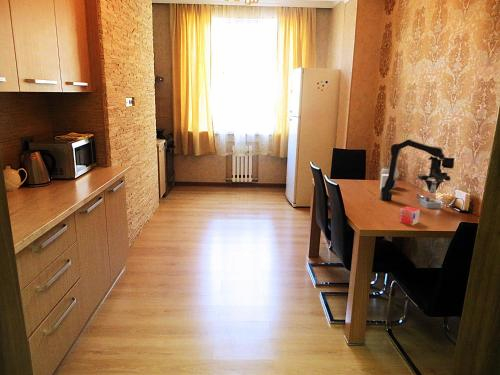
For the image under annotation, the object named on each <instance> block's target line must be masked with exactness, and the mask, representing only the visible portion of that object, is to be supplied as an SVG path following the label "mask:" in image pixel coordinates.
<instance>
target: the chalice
mask: <svg viewBox="0 0 500 375" xmlns="http://www.w3.org/2000/svg"><path fill="white" fill-rule="evenodd" d="M389 169H390V166H389V167H387V166H386V167H383V168H382V169H381V170H380V175H381V174H389ZM399 176H400V171H399V169H398V168H396V172H395V179H397V178H398V177H399ZM395 188H397V185H396V186H395V187H394V188H393V189H395Z"/></svg>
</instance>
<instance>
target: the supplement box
mask: <svg viewBox="0 0 500 375" xmlns="http://www.w3.org/2000/svg"><path fill="white" fill-rule="evenodd" d="M388 175H389V174H381V173H380V182H379V183H380V184H379V190H380V191H381V188H383V187H384V186H385V183H386V180H387V178H388Z"/></svg>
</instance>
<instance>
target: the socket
mask: <svg viewBox="0 0 500 375" xmlns="http://www.w3.org/2000/svg"><path fill="white" fill-rule="evenodd" d="M419 204H420V206H422V207H424V208H426V209H441V207H442V202H439V201H438V200H436V199H433V198H430V199H428V201H427V200H426V199H420V202H419Z"/></svg>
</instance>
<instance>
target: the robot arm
mask: <svg viewBox="0 0 500 375" xmlns="http://www.w3.org/2000/svg"><path fill="white" fill-rule="evenodd" d="M407 147H412V148H414V149H417V150H419V151H423V152H426V153H427V154H429V155H430V157H429V158H428V160H429V161H431V162H430V167H429V168H428V169H429V173H428V175H426V174H420V173H419V174H418V176H417V179H418V180H420V181H424V182H425V185H426V187H427V189H428V190H427V191H429V190H430V184H431V180H434V181H438V182H437V185H436V191H437V190H438V189H439V186H440V185H441V184H442V183H443V182H445V181H448V182H450V181H451V176H450V175H448V173H447V172H442V168H441V166H442V167H443V169H450V170H451V169H454V167H455V157H447V156H445V153H443V152H444V150H443V148H442V147H440V146H433V145H426V144H424V143H421V142H418V141H416V140H415V141H414V140H412V139H409V138H408V139H406V140H405V141H403V142H399V143H394V144H392V145H391V146H390V156H391V157H390V158H391V159H390V164H389V168H390V169H389V175H388V178H387V180H386V183H385V186H384V187H383V188H381V190H380V197H379V199H380V200H381V201H386V202H387V201H390V202H391V201H392V197H393V196H392V195H393V193H392V189H395V188H396V187H397V182H398V180H397V179H396V178H395V172H396V169H397V165H398V162H399V156H400V154H401V152H402V149H403V148H407ZM395 186H396V187H395ZM394 187H395V188H394Z"/></svg>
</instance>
